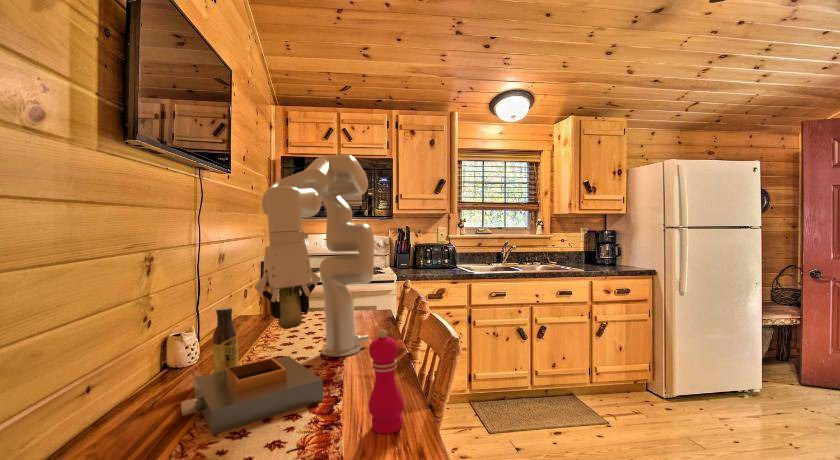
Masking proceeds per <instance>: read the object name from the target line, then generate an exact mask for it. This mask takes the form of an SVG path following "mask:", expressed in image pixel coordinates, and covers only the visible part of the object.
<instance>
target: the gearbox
mask: <svg viewBox="0 0 840 460" xmlns="http://www.w3.org/2000/svg"><path fill="white" fill-rule="evenodd" d="M193 383H194V384H193V385H194V398H192V399H185V400H184V401H181V403H180V407H181V409H180V410H181V415H182V417H184V416H188V415H191V414H194V413H197V412H201V413H202V415H203V417H204V419H205V422H206V425H207V426H208V428H209V431H210V433H211V434H212V435H214V436H215V435H216V434H220V433H222V432H226V431H230V430H232V429H233V430H234V429H236V428H239V427H242V426H246V425H248V424H252V423H255V422H258V421H262V420H265V419H267V418H271V417H275V416H277V415H281V414H283V413H286V412H287V413H288V412H291V411H293V410H297V409H300V408H303V407H307V406H310V405H314V404H316V403H320V402H323V401H324V390H323V389H324V388H323V387H324V386H323V379H322V378H321V377H319V376H318V375H316V374H315V373H313V371H311V370H309V369H308V368H307V367H305V366H304V365H303V364H302V363H299V362H298V361H297V360H295V359H294V358H293V357H291V356H290V355H287V356H283V357H279V358H278V357H277V358H274V357H270V358H265V359H261V360H257V361H253V362H247V363H244V364H238V366H234V367H230V368H226V370H225V371H221V372H217V373H214V372H213V373H212V372H211V373H208V374H205V375H200V376H196V377H193Z"/></svg>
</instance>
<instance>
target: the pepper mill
mask: <svg viewBox="0 0 840 460" xmlns="http://www.w3.org/2000/svg"><path fill="white" fill-rule="evenodd" d="M368 348H369V349H368V355H369V357H370V358H371V359H372V362H371V365H372V367H371V369H372V370H373V371H374V375H375V379H374V380H375V381H374V386H373V388H372V392H371V394H370V397H369V400H368V411H369V414H370V415H371V416H372V418H371V429H372V431H374V432H375V433H377V434H380V435H390V434H394V433H397V432H399V431H400V430H401V429H402V427H403V416H402V413H403V411H404V408H405V402H404V398H403V395H402V392H401V390H400V389H399V387H398V385H397V381H396V377H395V371H396V369H397V367H398V365H397V360H396V358H397V357H398V355H399V345H398V343H397V341H396V340H395V339H394V338H392V337H390V336H388V331H387V330H385V329H380V330H379V332H378V337H376V338H374V339H373V340H372V341H371V343H370V344H369V347H368Z"/></svg>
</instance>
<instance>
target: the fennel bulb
mask: <svg viewBox="0 0 840 460" xmlns="http://www.w3.org/2000/svg"><path fill="white" fill-rule="evenodd" d="M300 295H301V292H300V289H299V286H297V287H290V288H283V289H280V291H279V294H278V302H279V308H280V318H279V319H277V322H278V325H279V327H280V328H282V329H284V330H286V329H287V330H288V329H293V328H298V327H300V326H301V324H302V319H303V317H302V316H303V315H302V313H303V312H302V307H301V299H300Z"/></svg>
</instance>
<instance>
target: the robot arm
mask: <svg viewBox="0 0 840 460" xmlns="http://www.w3.org/2000/svg"><path fill="white" fill-rule="evenodd" d="M368 188H369V179H368V177H367V174H366V172H365V171H364V169H363V167H362V165H361V164H360V163H359V161H358V160H357V159H356V158H355V157H354V156H353V155H350V154H335V155H334V154H332V155H322V156H319V157H317V158H315V159H314V160H313V161H312V162H311V163H310V164H309V165H308V166H307V167H306V168H305V169H304V170H303V171H299V172H296V173H294V174H291V175H289V176H286V177H283V178H281V179H279V180H276V181H275V182H273V183H272V184H271V185H270V186H269V187H268V188H267V189H266V190H265V192H264V194H263V196H262V200H261V208H262V211H263V213H264V214H265V215H266V216H267V223H268V243H269V245H267V246H265V249H264V258H263V275H262V277H261V278H260V279H259V281H258V282H256V284H254V287H253V288H254V290H255V291H257V292H258V293H259V294H261V296H263V297H264V298H266V299H267V301H269V309H270V311H269V313H270V315H271V316H272V318H274V319H276V320H278V319H279V318H280V308H279V300H278V298H279V291H280V289H283V288H290V287H293V288H294V287H297V286H299V289H300V299H301V307H302V313H304V314H308V313H309V309H310V299H309V298H310V296H311V295H312V294H311V293H312V292H313V291H314V289H315V288H316V286H317V285H318V284H319V282H320V281H321V284H322V291H323V301H324V323H325V343H326V345H325V346H324V347H322V349H321V354H322V355H323V356H326V357H331V358H332V357H337V358H338V357H345V356H352V355H353V354H356V353H358V352H360V350H361V345H360V343H362V342H367V341H369V340H370V338H369V334H365V335H361V334H358V335H357V334H356V325H355V324H356V322H355V319H356V318H355V305H354V304H355V301H354V296H353V294H352V292H351V290H350V289H349V288H348V286H347V285H366V284H369V283H371V282H372V280H373V278H374V271H375V270H374V269H375V268H374V267H375V265H374V262H375V260H374V258H375V253H374V252H375V251H374V250H375V246H374V245H375V242H374V241H375V240H374V239H375V238H374V232H373V228H372V227H371V226H370V225H369V224H367V223H364V222H363V223H361V222H359V223H353V211H352V208H351V206H350V205H349V204H348V202H346V200H344V199H343V198H342V197H350V196H352V197H354V196H355V197H356V196H361V195H364V194H365V193H366V192H367V190H368ZM322 203H323V204H324V206H325V210H326V226H325V228H326V232H325V234H326V235H325V242H326V243H325V245H326V248H327V249H328V250H329V251H330V252H333V253H359V254H356V255H355V254H354V255H351V254H350V255H347V254H346V255H331V256H327V257H325V258H323V260H322V261H321V262H320V264H319V274H320V277H319V276H318V275H317V274H316V273H315V272H314V271H313V270H311V263H310V262H311V261H310V257H309V253H308V252H309V251H308V248H307V244H306V243H304V241H305V239H308V238H309V234H308V232H304V230H303V219H302V218H311V217H314V216H316V215H318V213H319V212H320V210H321V208H322V207H321V206H322ZM264 287H266V288H269V289H270V290H269V291H268V290H266V288H264Z"/></svg>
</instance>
